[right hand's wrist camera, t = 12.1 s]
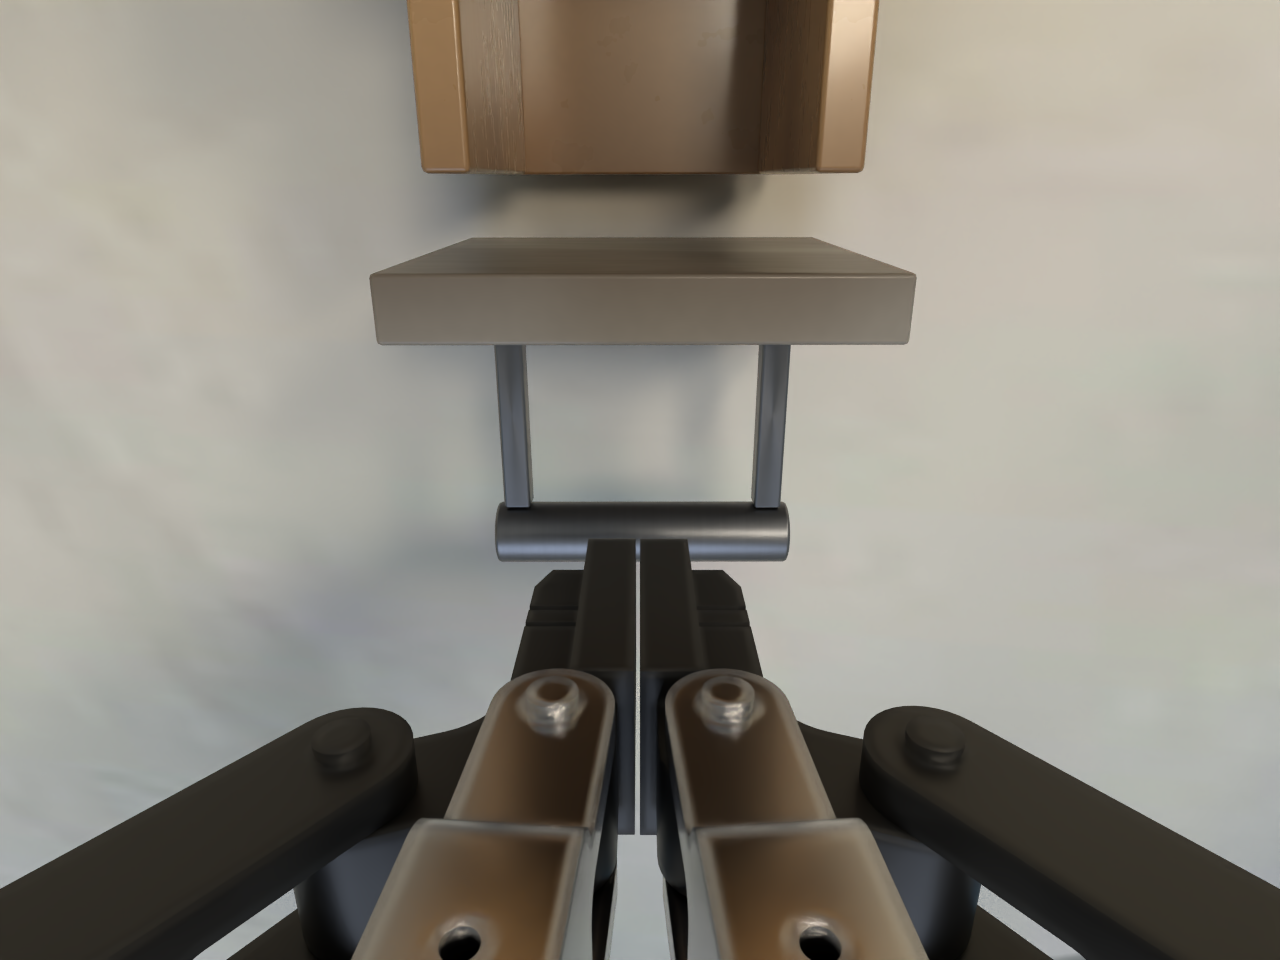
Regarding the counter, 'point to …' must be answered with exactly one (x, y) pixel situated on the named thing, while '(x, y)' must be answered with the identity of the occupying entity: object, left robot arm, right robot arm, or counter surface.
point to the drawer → (642, 267)
